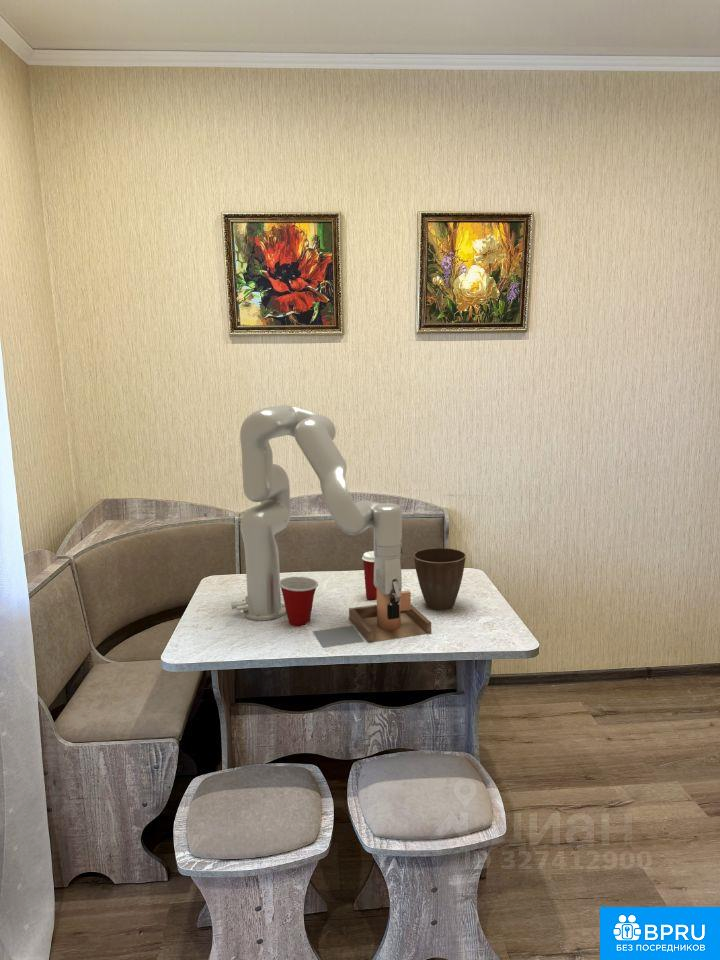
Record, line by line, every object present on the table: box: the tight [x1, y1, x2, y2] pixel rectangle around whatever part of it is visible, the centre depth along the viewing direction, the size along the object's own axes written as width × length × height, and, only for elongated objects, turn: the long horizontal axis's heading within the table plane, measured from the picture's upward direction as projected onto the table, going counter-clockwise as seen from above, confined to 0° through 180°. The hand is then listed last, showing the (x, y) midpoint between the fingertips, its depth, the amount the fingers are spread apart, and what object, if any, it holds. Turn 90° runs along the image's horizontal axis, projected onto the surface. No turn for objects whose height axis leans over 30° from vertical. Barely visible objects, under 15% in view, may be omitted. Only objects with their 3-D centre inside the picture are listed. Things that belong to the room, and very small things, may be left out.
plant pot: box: [413, 547, 467, 612], centre depth 198 cm, size 15×15×16 cm
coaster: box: [312, 625, 365, 649], centre depth 179 cm, size 11×11×1 cm
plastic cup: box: [279, 576, 319, 627], centre depth 189 cm, size 11×11×12 cm
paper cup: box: [361, 550, 377, 602], centre depth 207 cm, size 8×8×14 cm
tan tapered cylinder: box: [376, 587, 412, 630], centre depth 185 cm, size 9×6×11 cm
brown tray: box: [348, 604, 432, 644], centre depth 185 cm, size 17×17×4 cm
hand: (388, 613), depth 184 cm, fingers closed on tan tapered cylinder, 6 cm apart
